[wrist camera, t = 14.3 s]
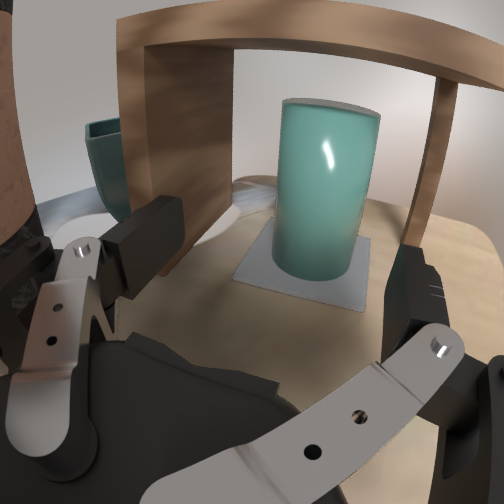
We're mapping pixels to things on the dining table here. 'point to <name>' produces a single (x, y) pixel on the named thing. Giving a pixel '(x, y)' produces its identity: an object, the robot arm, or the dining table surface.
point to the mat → (329, 292)
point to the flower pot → (108, 165)
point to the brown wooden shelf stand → (221, 90)
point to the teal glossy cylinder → (321, 185)
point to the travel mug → (13, 167)
